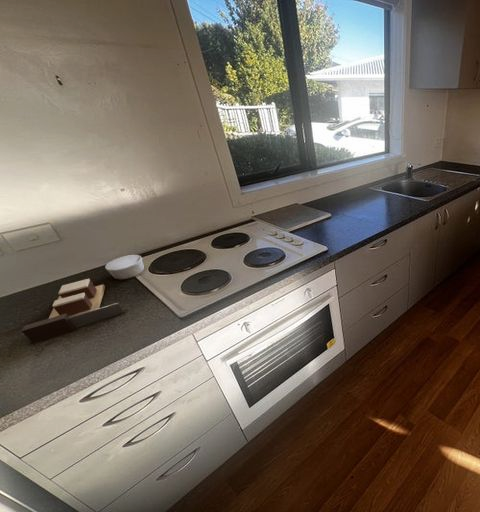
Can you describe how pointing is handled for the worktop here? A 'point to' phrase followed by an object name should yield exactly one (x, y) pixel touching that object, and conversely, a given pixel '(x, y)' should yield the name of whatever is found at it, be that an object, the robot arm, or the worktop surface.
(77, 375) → the worktop surface
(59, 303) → the cake slice
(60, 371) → the worktop surface
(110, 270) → the ramekin
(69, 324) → the knife
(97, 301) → the board
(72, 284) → the cake
